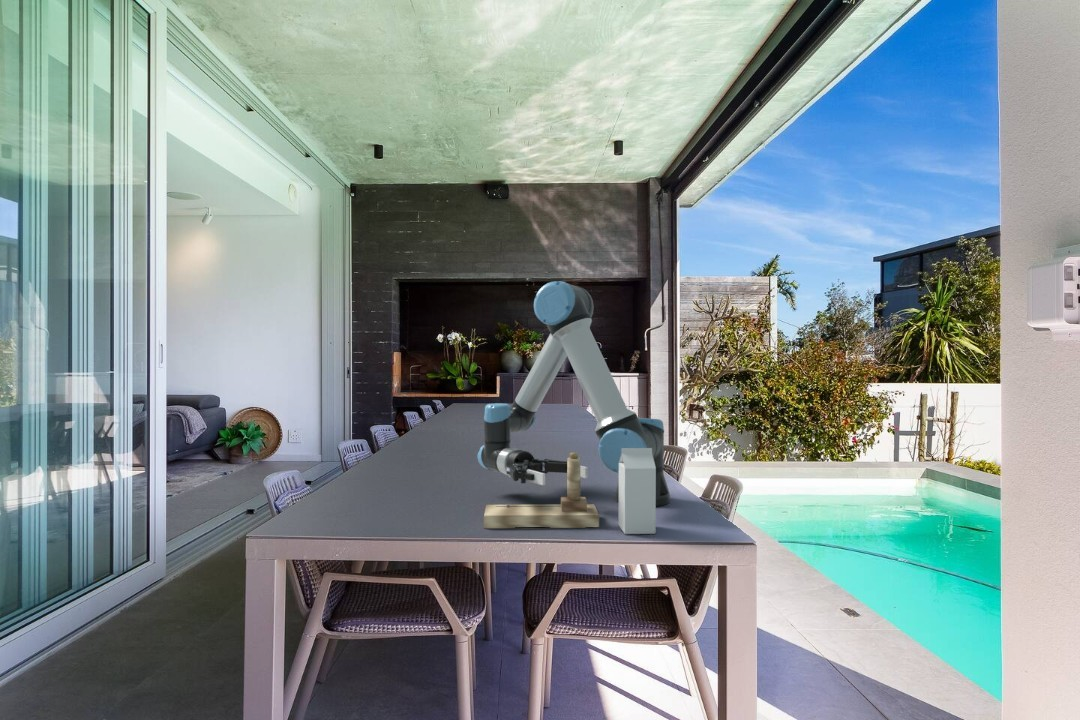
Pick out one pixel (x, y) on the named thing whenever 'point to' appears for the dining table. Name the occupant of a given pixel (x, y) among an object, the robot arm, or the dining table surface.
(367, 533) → the dining table surface
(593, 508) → the oak plank
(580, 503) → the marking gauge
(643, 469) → the milk carton
